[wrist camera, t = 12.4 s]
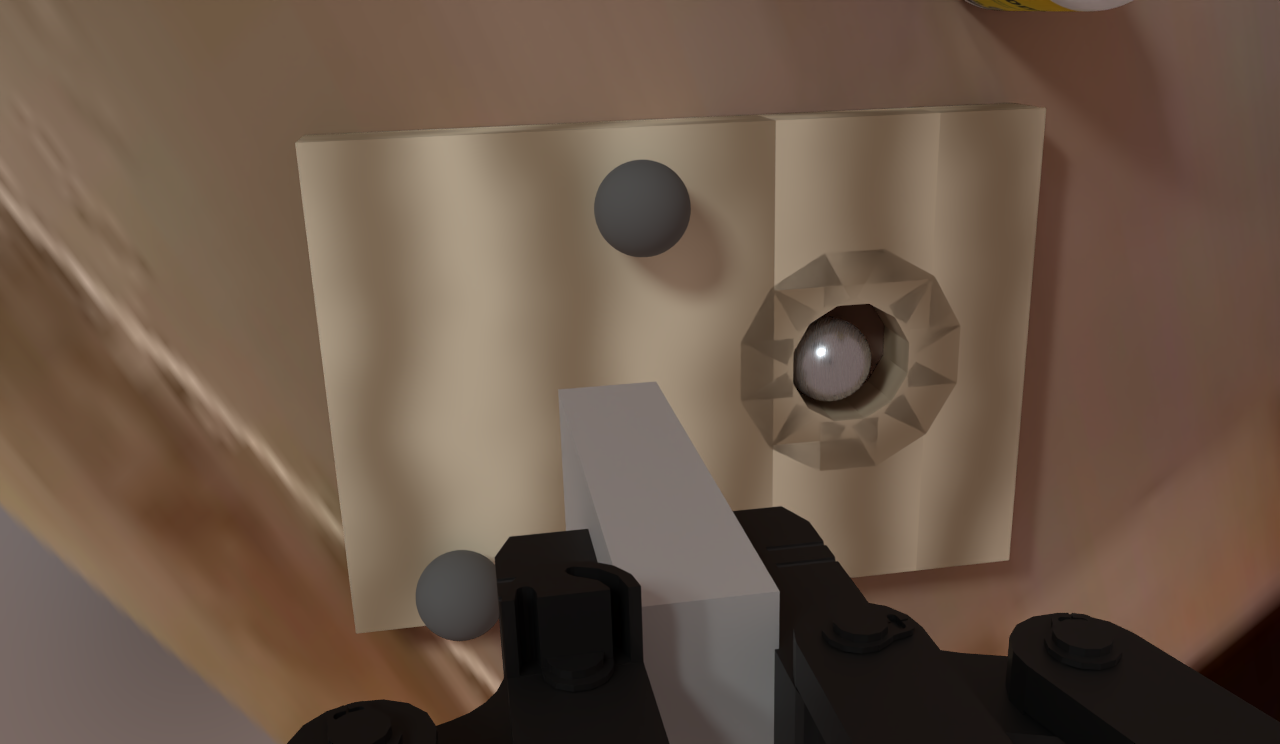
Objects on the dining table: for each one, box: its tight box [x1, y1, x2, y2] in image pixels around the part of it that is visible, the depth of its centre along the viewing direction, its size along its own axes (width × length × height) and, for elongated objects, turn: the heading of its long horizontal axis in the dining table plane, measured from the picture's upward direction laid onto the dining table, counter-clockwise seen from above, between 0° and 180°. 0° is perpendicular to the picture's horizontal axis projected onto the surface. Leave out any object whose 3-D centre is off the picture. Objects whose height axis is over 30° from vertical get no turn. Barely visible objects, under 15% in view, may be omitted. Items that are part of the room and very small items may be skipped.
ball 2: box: [594, 160, 691, 257], centre depth 36 cm, size 3×3×3 cm
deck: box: [295, 103, 1046, 633], centre depth 41 cm, size 26×18×2 cm
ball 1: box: [415, 550, 499, 641], centre depth 40 cm, size 3×3×3 cm
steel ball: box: [793, 317, 871, 401], centre depth 42 cm, size 3×3×3 cm
